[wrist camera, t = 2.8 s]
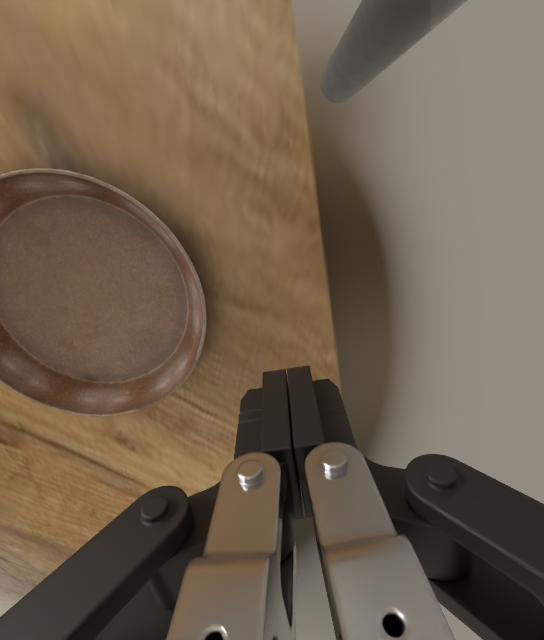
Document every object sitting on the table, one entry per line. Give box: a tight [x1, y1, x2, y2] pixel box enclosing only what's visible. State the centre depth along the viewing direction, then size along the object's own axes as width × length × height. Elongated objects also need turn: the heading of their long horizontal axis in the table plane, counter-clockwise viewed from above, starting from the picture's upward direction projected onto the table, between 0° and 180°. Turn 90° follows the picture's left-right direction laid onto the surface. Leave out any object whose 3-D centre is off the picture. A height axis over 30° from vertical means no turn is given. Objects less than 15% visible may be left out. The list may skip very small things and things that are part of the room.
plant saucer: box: [0, 168, 206, 417], centre depth 25 cm, size 18×18×3 cm
